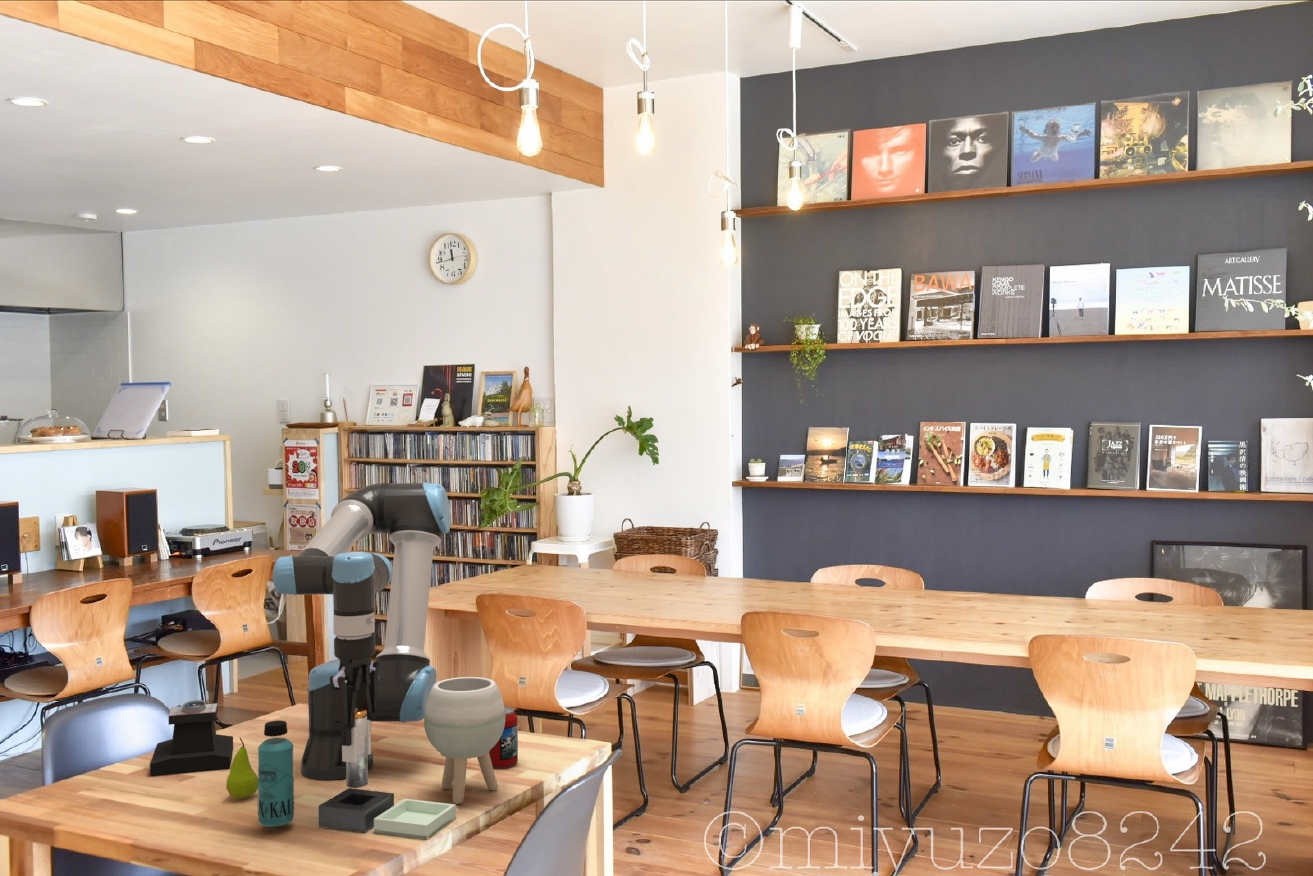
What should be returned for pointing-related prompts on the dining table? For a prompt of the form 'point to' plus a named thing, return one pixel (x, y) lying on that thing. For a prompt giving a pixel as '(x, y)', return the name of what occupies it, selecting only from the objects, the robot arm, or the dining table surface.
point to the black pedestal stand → (192, 742)
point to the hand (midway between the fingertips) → (356, 757)
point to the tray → (415, 819)
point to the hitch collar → (354, 809)
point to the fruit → (241, 776)
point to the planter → (464, 727)
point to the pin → (359, 753)
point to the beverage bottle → (275, 777)
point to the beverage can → (506, 743)
